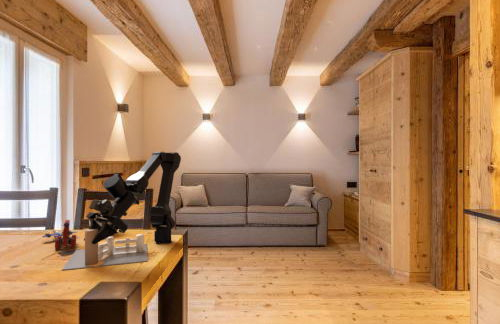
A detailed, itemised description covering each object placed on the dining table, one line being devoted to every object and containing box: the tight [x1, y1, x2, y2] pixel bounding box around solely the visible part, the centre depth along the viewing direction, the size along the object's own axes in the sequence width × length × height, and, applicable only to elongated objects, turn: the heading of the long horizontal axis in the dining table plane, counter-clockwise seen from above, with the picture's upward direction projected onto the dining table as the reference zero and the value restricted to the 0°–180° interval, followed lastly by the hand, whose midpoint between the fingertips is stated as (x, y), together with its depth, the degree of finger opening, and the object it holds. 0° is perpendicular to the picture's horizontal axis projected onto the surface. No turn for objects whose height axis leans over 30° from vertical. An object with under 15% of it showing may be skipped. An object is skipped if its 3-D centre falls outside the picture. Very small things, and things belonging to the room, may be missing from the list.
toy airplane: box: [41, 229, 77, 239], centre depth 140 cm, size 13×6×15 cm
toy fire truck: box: [54, 219, 77, 250], centre depth 128 cm, size 7×12×10 cm, turn 26°
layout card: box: [61, 243, 149, 271], centre depth 115 cm, size 26×24×1 cm
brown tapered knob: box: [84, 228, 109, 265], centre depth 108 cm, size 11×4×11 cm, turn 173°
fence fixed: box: [106, 233, 145, 255], centre depth 118 cm, size 13×3×6 cm, turn 109°
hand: (88, 242), depth 104 cm, fingers open, 5 cm apart
